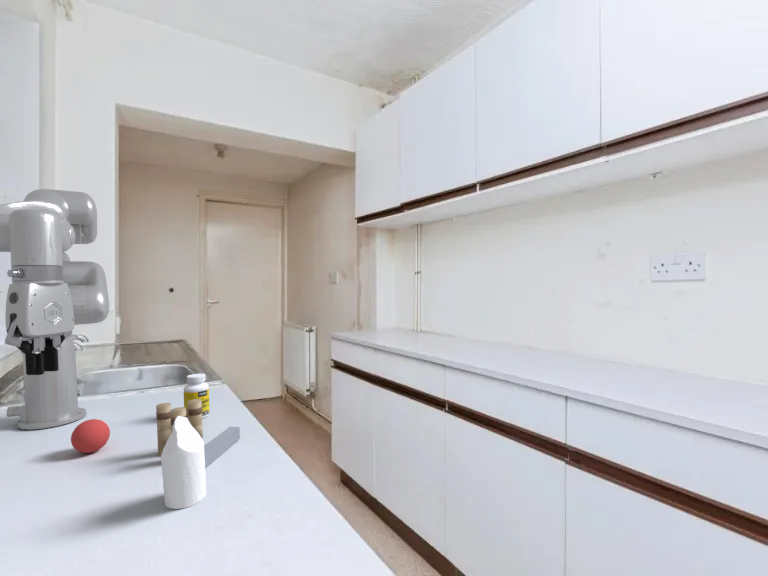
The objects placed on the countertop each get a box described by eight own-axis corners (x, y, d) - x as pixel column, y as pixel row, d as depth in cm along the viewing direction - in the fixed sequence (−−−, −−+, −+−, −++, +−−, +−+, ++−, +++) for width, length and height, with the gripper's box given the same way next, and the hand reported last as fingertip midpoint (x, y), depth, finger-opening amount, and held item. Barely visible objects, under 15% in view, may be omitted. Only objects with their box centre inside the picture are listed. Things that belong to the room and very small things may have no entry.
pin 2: (187, 451, 76) (185, 403, 76) (190, 446, 79) (188, 399, 78) (202, 449, 77) (200, 402, 77) (204, 444, 79) (202, 398, 79)
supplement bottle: (200, 421, 93) (198, 378, 93) (179, 420, 94) (177, 377, 94) (214, 413, 98) (213, 372, 98) (194, 412, 99) (193, 372, 99)
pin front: (156, 456, 74) (154, 407, 74) (160, 451, 77) (158, 403, 76) (171, 455, 75) (169, 406, 75) (174, 449, 77) (172, 402, 77)
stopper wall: (189, 472, 68) (188, 457, 68) (230, 439, 82) (229, 426, 82) (200, 472, 68) (199, 457, 67) (239, 439, 81) (239, 426, 81)
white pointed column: (193, 422, 56) (151, 424, 56) (197, 508, 57) (155, 511, 56) (209, 408, 62) (170, 410, 62) (212, 486, 63) (174, 489, 62)
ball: (64, 460, 74) (63, 427, 74) (81, 447, 80) (79, 416, 80) (102, 456, 75) (101, 423, 75) (115, 443, 81) (114, 413, 81)
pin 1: (170, 463, 71) (168, 412, 71) (174, 457, 74) (172, 407, 73) (186, 461, 72) (184, 410, 72) (189, 455, 74) (187, 406, 74)
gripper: (13, 275, 69) (18, 383, 70) (91, 275, 85) (94, 364, 86) (-26, 276, 70) (-21, 383, 71) (58, 277, 86) (62, 364, 87)
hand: (42, 372), depth 78 cm, fingers closed
